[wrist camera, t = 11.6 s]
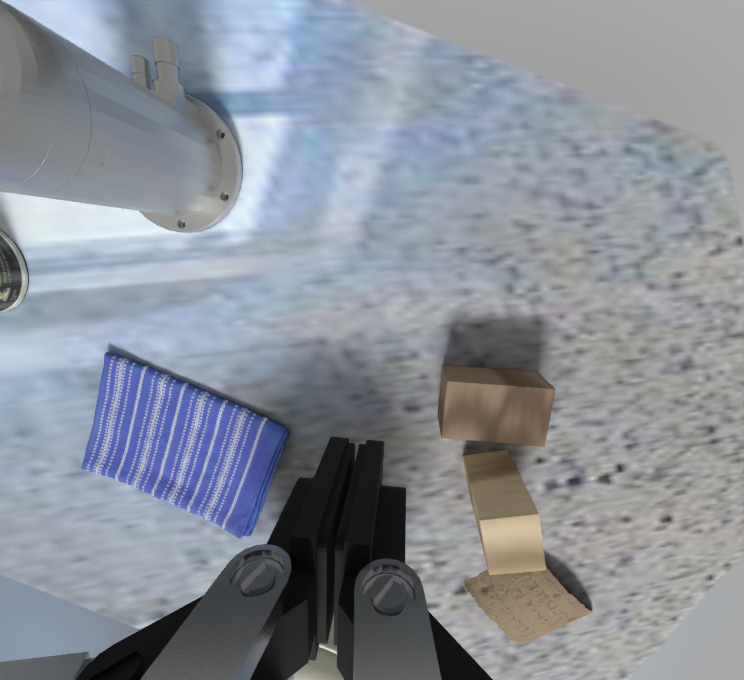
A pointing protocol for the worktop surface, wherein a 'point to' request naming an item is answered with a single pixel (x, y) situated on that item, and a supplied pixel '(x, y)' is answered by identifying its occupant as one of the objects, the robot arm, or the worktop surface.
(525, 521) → the oak block
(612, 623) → the worktop surface
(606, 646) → the worktop surface
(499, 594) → the clay tablet
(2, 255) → the coffee can
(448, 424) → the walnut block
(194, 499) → the dish towel
